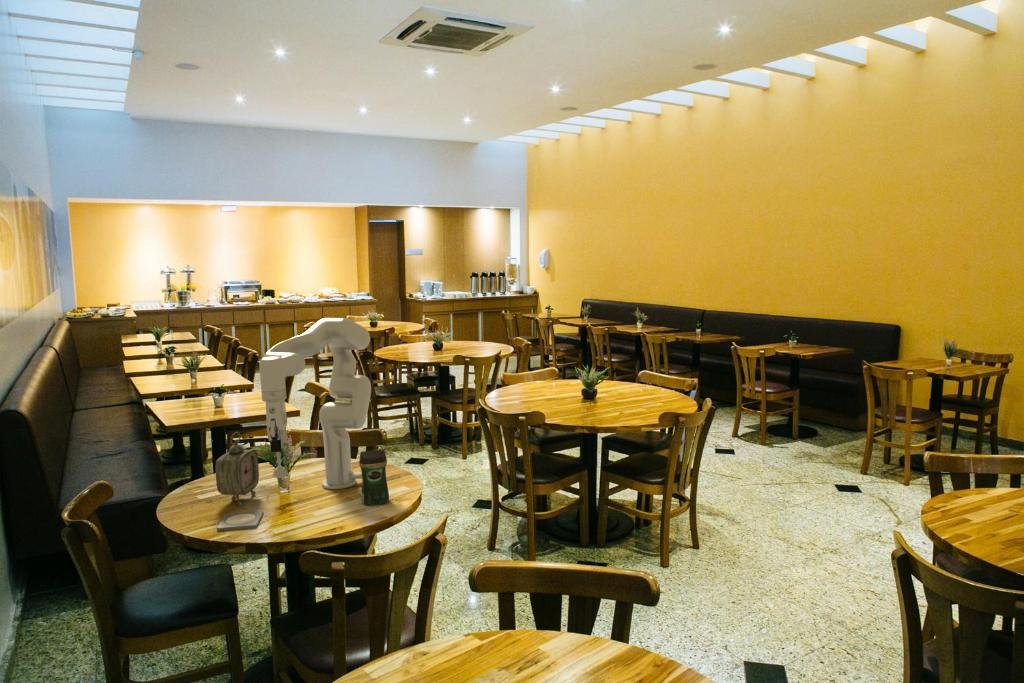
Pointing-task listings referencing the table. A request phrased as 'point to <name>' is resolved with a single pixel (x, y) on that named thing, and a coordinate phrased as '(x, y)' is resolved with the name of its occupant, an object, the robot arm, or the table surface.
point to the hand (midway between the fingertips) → (278, 448)
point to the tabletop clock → (237, 471)
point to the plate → (240, 520)
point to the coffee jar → (374, 477)
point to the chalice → (279, 470)
